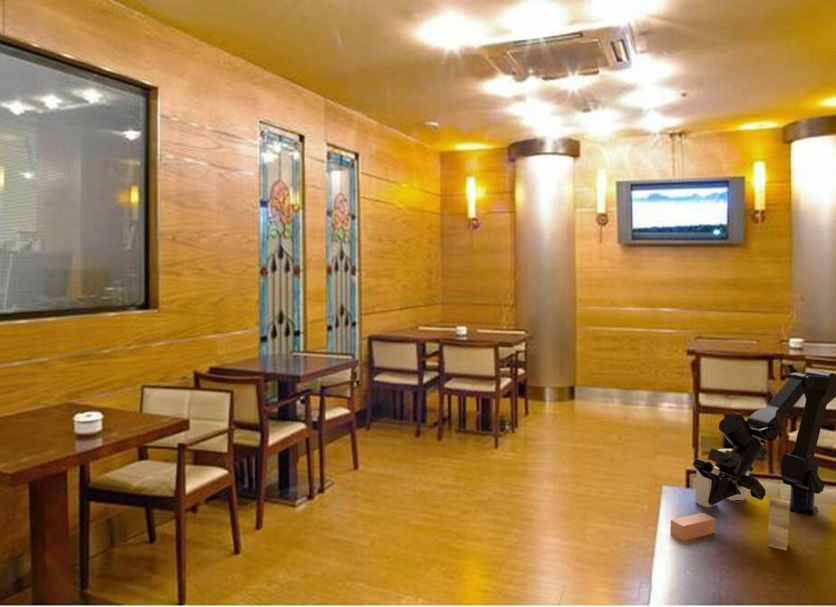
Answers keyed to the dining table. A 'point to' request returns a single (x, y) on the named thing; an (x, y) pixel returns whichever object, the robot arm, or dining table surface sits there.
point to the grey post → (703, 490)
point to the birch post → (778, 523)
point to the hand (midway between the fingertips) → (709, 503)
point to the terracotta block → (692, 526)
